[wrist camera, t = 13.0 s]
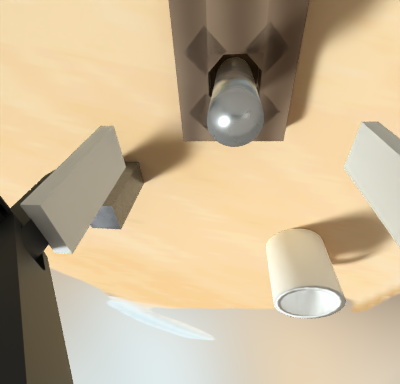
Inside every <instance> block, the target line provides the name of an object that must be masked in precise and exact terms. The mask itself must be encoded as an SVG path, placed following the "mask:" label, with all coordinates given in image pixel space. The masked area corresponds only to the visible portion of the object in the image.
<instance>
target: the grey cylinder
mask: <svg viewBox="0 0 400 384" xmlns="http://www.w3.org/2000/svg"><path fill="white" fill-rule="evenodd" d="M263 123H264V112H263V109H262V105H261V102H260V98H259V95H258V92H257V88H256V85H255V82H254V78H253V75H252V72H251V69H250V66H249V65H248V63H247V62H246V61H245V60H243V59H241V58H237V57H233V58H229V59H227V60H225V61H224V62H223V63H222V64H221V65H220V67H219V68H218V71H217V74H216V79H215V83H214V88H213V92H212V97H211V101H210V106H209V110H208V115H207V126H208V130H209V132H210V134H211V135H212V137H213V138H214V139H215V140H216V141H218V142H219V143H221V144H223V145H226V146H230V147H238V146H242V145H245V144H248V143H249V142H251V141H252V140H254V139H255V138H256V137H257V136H258V134H259V133H260V131H261V129H262V127H263Z"/></svg>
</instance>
